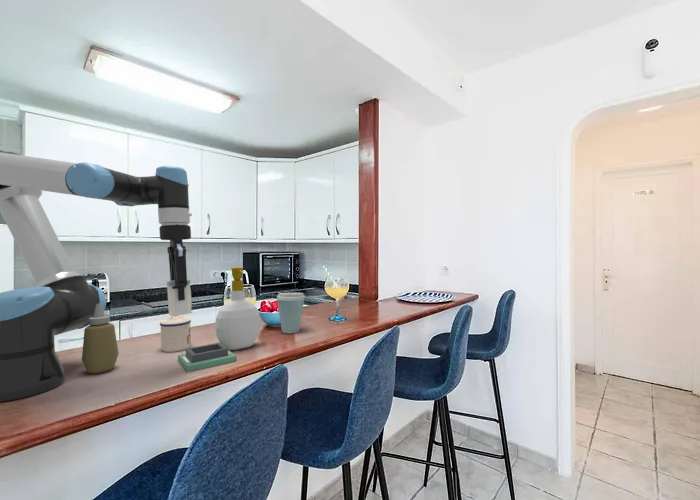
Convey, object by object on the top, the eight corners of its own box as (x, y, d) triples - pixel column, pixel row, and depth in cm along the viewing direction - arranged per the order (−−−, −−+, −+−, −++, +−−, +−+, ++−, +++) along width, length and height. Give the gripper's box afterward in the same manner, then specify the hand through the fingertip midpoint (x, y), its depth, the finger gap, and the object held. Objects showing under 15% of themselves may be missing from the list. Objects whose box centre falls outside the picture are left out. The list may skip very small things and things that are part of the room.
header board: (187, 372, 90) (187, 358, 90) (178, 360, 100) (177, 348, 100) (236, 361, 98) (236, 348, 98) (223, 351, 108) (223, 340, 107)
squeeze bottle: (81, 369, 93) (79, 304, 93) (117, 362, 98) (115, 300, 98) (82, 378, 87) (80, 307, 87) (120, 370, 92) (118, 303, 92)
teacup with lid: (194, 348, 111) (193, 312, 111) (163, 354, 105) (162, 316, 105) (185, 340, 120) (185, 307, 120) (156, 345, 115) (155, 311, 115)
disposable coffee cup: (277, 328, 135) (276, 291, 135) (305, 327, 137) (304, 289, 137) (276, 335, 125) (276, 294, 124) (306, 334, 127) (305, 293, 126)
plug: (170, 316, 89) (168, 282, 89) (168, 314, 93) (166, 281, 93) (193, 313, 93) (191, 279, 92) (190, 311, 96) (188, 279, 96)
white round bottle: (219, 355, 103) (218, 269, 102) (212, 348, 110) (210, 267, 110) (265, 347, 111) (264, 266, 111) (256, 341, 118) (254, 265, 118)
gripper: (196, 222, 87) (201, 313, 88) (184, 227, 101) (189, 305, 102) (163, 222, 83) (168, 318, 83) (155, 227, 97) (160, 309, 97)
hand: (180, 311), depth 93 cm, fingers closed on plug, 4 cm apart
